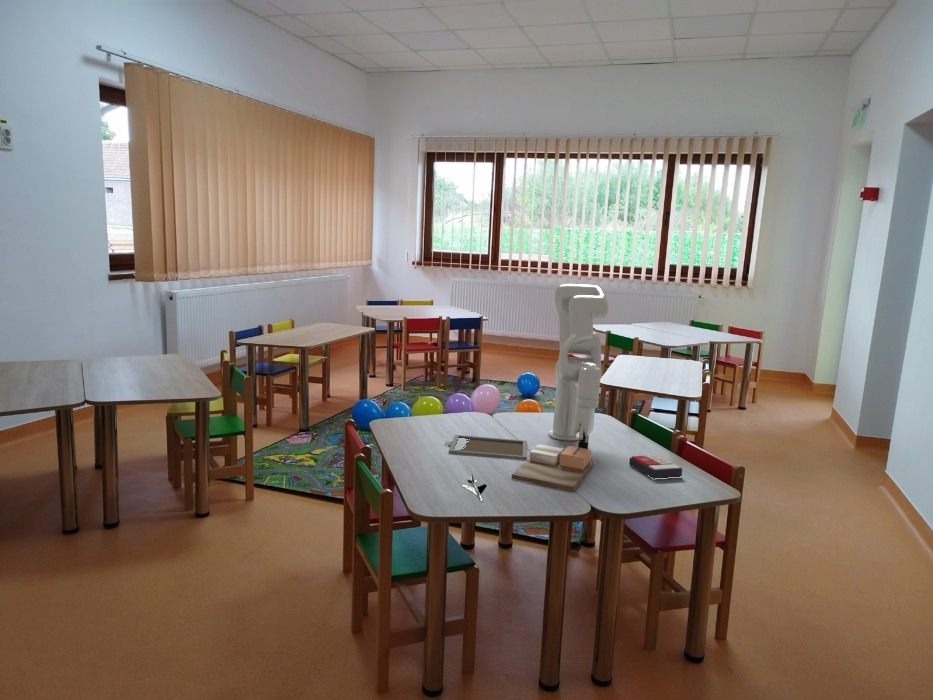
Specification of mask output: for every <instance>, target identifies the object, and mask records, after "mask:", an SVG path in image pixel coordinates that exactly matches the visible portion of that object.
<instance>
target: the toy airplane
mask: <svg viewBox="0 0 933 700" xmlns="http://www.w3.org/2000/svg"><path fill="white" fill-rule="evenodd" d="M469 476H471V480H470V479H467V482H468V483H470V484H471V486H470V485H466V484H463V483H462V484H461V486H462V487H463V488H465V489H467V490H468V491H470V492H471V493H473V494H475V495H476V496H477V498H478V500H479V499H480V500H479V501H480V502H483V497H482V494H483V492H484V490H485V489H486V488H487V486H488V485H487V484H486V483H485V484H484V483H483V484H481V485H479V486H477V482H478V480H477V479H474V476H473V474H471V475H470V474H469Z"/></svg>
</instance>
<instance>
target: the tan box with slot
mask: <svg viewBox="0 0 933 700" xmlns="http://www.w3.org/2000/svg"><path fill="white" fill-rule="evenodd" d="M591 455H592V449H589V448H588V449H584V448H578V446H571V445H568V446H566V447H565V448H564V451H563V452H562V453H561V454H560V465H561V466H566V467H572V468H577V469H582V470H583V469H584V468H585V467H586V466H587V464H588V463H589V462H590V460H591V459H592V458H591Z"/></svg>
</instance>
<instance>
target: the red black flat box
mask: <svg viewBox="0 0 933 700" xmlns="http://www.w3.org/2000/svg"><path fill="white" fill-rule="evenodd" d="M628 463H629V464H630V465H632V466H634V467H635V468H637V469H638V470H640V471H642V472H643V473H642V472H641V473H642V474H644V473H645V474H647V475H649V476H650V477H652V478H654V479H655V478H668V477H680V476H682V477H683V474H682V473H683V468H682V467H680V466H679V465H677V464H675V463H673V462H671V461H670V460H667V459H665V458H663V457H661V456H659V455H656V454H652V455H648V454H647V455H633V456H631V457H629V462H628ZM629 464H628V465H629ZM630 465H629V466H630ZM632 466H631V467H632ZM635 468H634V469H635ZM637 469H636V470H637ZM638 470H637V471H638ZM640 471H639V472H640ZM645 474H644V475H645Z"/></svg>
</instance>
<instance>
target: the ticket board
mask: <svg viewBox="0 0 933 700" xmlns="http://www.w3.org/2000/svg"><path fill="white" fill-rule="evenodd" d="M564 450H565V448H564V447H558V446H553V445H548V444H543V443H539V444H537V445H536V446H535V447H534V448H533V449H531V451H530V452H529V458H527V460H525V462H524V463H523V464H521V466H519V467H518V468H517V469H516V470H515V471H513V472H512V473H511V479H512V480H517V481H521V482H527V483H530V484H536V485H540V486H544V487H545V486H546V487H548V488H549V487H550V488H554V489H558V490H564V491H567V490H568V491H569V492H572V491H573V492H574V491H575V490H576V489H577V488H578V487H579V485H580V484H581V482H582V481H583V480H584V479H585V477H586V476H587V475H586V474H588V473H589V472H590V471H591V470H592V468H593V467H594V466H593V465H595V460H592V459H590V462H589V463H588V464H587V466H586V467H585V468H584V469H583V470H582V469H577V468H572V467H566V466H561V465H560V454H561V453H562V452H563V451H564ZM592 466H593V467H592ZM589 470H590V471H589ZM585 475H586V476H585ZM582 479H583V480H582ZM581 480H582V481H581ZM579 483H580V484H579ZM578 484H579V485H578ZM575 488H576V489H575Z"/></svg>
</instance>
